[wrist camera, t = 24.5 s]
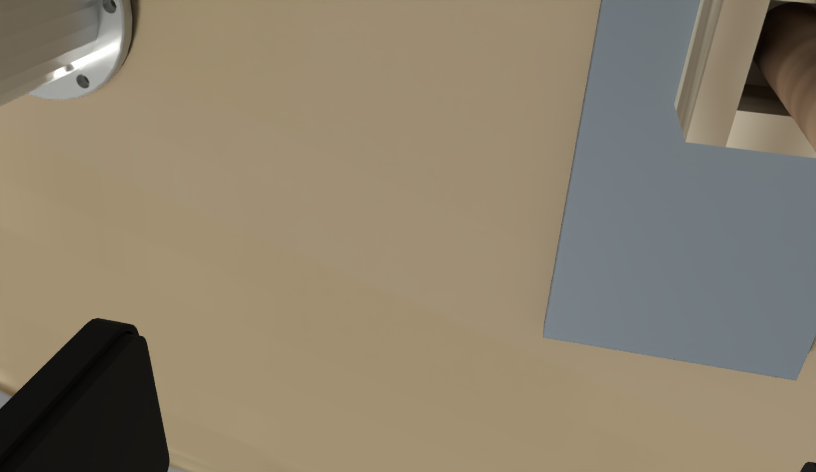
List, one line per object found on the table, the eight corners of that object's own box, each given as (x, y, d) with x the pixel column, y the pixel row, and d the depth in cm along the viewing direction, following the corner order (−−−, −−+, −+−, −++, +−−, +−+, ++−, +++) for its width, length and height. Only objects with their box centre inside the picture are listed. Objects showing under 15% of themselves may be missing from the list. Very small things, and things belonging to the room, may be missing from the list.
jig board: (544, 323, 45) (536, 403, 39) (623, -126, 32) (631, -114, 26) (790, 364, 43) (824, 457, 37) (987, -105, 29) (1095, -86, 23)
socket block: (674, 104, 35) (685, 142, 31) (717, -68, 31) (737, -51, 27) (845, 124, 34) (881, 166, 30) (914, -53, 30) (967, -32, 26)
